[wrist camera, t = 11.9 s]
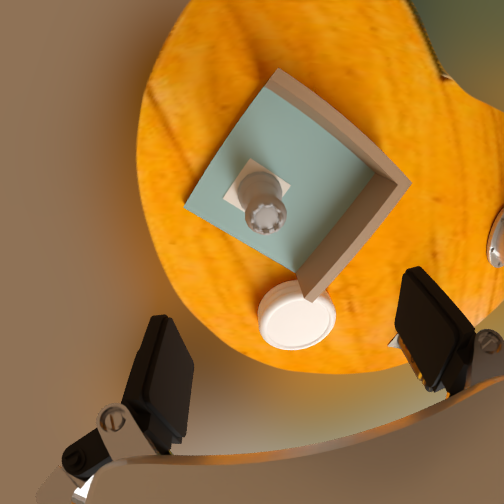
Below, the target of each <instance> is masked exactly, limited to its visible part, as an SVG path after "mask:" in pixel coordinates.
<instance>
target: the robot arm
mask: <svg viewBox="0 0 504 504" xmlns="http://www.w3.org/2000/svg"><path fill="white" fill-rule="evenodd" d="M487 258H488V261H489V262H490V264H491V265H493V266H494V267H496V268H499V267H502V266H504V208H503V209H502V210H501V211H500V213H499V214H498V216H497V217H496V219H495V221H494V223H493V226H492V228H491V231H490V234H489V239H488V244H487ZM395 328H396V330H397V332H398V334H399V335H400V337H401V339H402V341H403V342H404V344H405V346H406V347H407V349H408V351H409V353H410V354H411V356H412V358H413V360H414V362H415V363H416V365H417V367H418V369H419V371H420V373H421V374H422V376H423V378H424V380H425V382H426V384H427V386H428V387H432V389H433V391H434V392H437V391H439V390H441V389H443V388H446V391H447V395H446V399H445V400H443V401H441V402H439V403H436V404H434V405H432V406H430V407H428V408H425V409H423V410H421V411H419V412H416V413H414V414H411V415H409V416H406V417H404V418H401V419H399V420H396V421H393V422H391V423H388V424H385V425H382V426H379V427H376V428H373V429H370V430H367V431H364V432H360V433H357V434H353V435H350V436H346V437H342V438H338V439H334V440H330V441H326V442H322V443H317V444H312V445H307V446H301V447H295V448H289V449H283V450H275V451H268V452H260V453H248V454H234V455H206V456H183V455H174V454H173V453H172V452H171V451H170V449H171V443H175V444H181V443H182V437H185V435H186V431H187V422H188V413H189V404H190V395H191V388H192V379H193V372H194V363H193V360H192V358H191V356H190V354H189V352H188V350H187V348H186V346H185V344H184V342H183V340H182V338H181V336H180V334H179V332H178V330H177V328H176V326H175V324H174V322H173V319H172V318H168V316H167V315H156V316H152V317H151V319H150V322H149V324H148V327H147V330H146V332H145V335H144V338H143V341H142V344H141V347H140V349H139V351H138V352H137V354H136V357H135V360H134V363H133V366H132V369H131V372H130V375H129V378H128V382H127V385H126V388H125V392H124V395H123V398H122V401H121V404H119V403H112V404H109V405H107V406H105V407H104V408H103V409H102V410H101V411H100V412H99V414H98V416H97V419H96V424H97V428H96V429H94V430H93V431H91V432H90V433H88V434H87V435H86V436H84V437H82V438H81V439H79V440H78V441H76V442H75V443H73V444H72V445H70V446H69V447H68V448H66V450H65V451H64V453H63V455H62V467H61V466H59V465H58V466H57V467H56V469H55V470H54V471H53V472H52V473H51V475H50V476H49V477H48V478H47V479H46V481H45V482H44V483H43V484H42V485H41V487H40V488H39V489H38V491H37V493H36V500H37V503H38V504H504V340H503V338H502V337H501V336H500V335H499V334H498V333H497V332H495V331H494V330H491V329H484V330H481V331H479V332H478V333H477V334H476V333H475V331H474V330H475V328H474V327H473V325H472V324H471V323H470V322H469V320H468V319H467V318H466V317H465V315H464V314H463V313H462V312H461V311H460V310H459V308H458V307H457V306H456V305H455V304H454V303H453V301H452V300H451V299H450V298H449V297H448V296H447V295H446V293H445V292H444V291H443V290H442V289H441V288H440V287H439V286H438V285H437V284H436V282H435V281H434V280H433V279H432V278H431V277H430V276H429V275H428V274H427V273H426V272H425V271H424V270H423V269H422V268H421V267H420V266H417V267H413V268H409V269H407V270H406V272H405V273H404V274H403V276H402V283H401V289H400V295H399V301H398V307H397V312H396V317H395Z"/></svg>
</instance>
